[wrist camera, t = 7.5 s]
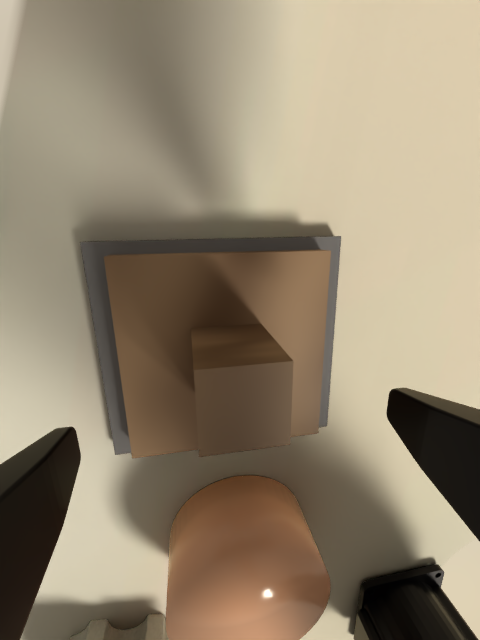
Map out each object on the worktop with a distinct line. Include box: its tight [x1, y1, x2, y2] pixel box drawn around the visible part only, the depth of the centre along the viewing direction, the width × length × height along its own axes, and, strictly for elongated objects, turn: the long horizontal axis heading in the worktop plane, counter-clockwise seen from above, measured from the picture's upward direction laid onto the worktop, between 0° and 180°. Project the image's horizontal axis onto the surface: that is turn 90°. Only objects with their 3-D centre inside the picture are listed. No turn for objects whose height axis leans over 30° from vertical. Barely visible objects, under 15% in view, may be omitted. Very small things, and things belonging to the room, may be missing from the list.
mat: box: [80, 236, 341, 455], centre depth 14 cm, size 11×10×1 cm
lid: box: [104, 250, 331, 458], centre depth 11 cm, size 9×9×5 cm
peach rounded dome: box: [166, 475, 330, 640], centre depth 16 cm, size 8×8×4 cm
